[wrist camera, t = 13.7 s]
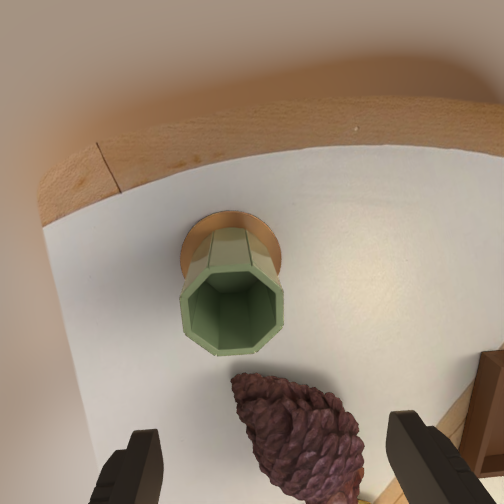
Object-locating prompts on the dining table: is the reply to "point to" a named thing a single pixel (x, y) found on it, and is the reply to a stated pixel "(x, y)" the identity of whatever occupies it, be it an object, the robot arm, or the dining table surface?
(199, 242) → the coaster
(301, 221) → the dining table surface
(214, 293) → the cup
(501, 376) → the tray
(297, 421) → the pine cone
